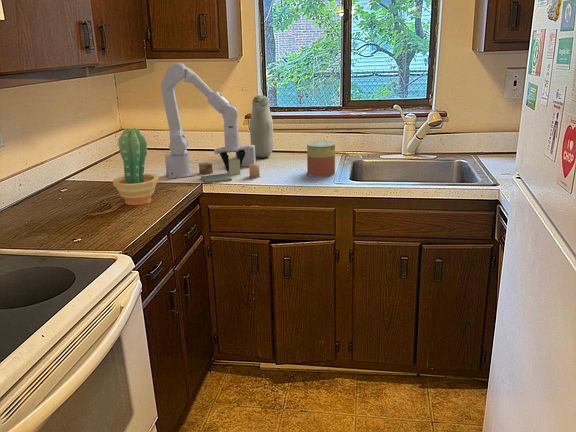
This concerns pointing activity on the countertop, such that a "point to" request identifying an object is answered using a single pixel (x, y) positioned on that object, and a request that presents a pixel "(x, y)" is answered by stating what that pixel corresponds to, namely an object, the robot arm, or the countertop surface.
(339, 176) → the countertop surface
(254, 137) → the grey-green bottle
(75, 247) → the countertop surface
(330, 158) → the canned food
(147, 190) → the potted cactus
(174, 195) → the countertop surface
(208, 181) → the slate mat
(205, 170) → the walnut cube
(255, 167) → the terracotta capsule
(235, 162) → the sage green block
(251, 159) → the medicine box
